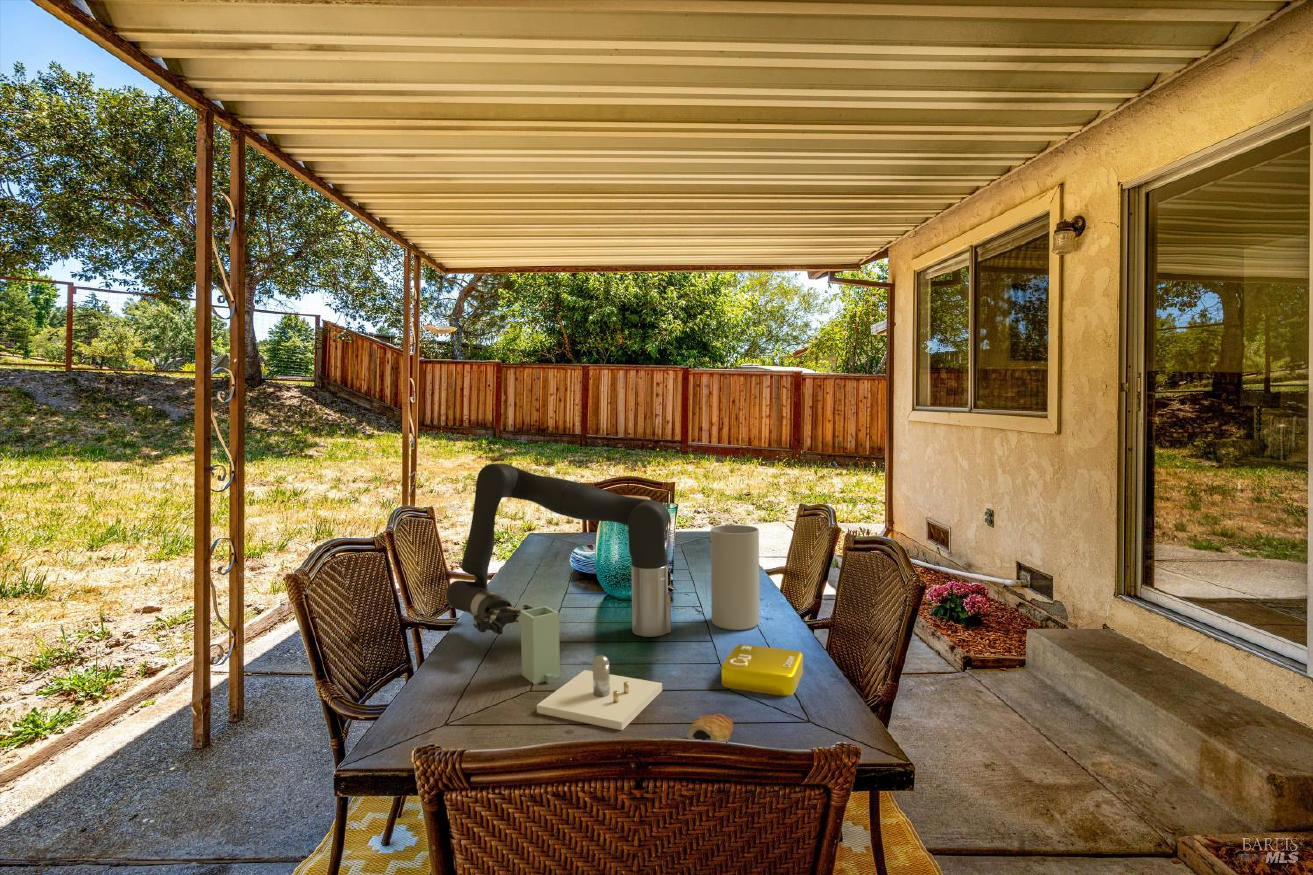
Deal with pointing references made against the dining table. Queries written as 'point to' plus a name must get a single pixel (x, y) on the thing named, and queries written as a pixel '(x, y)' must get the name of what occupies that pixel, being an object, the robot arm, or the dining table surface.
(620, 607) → the dining table surface
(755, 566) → the cylinder vase
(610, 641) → the dining table surface
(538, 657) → the hollow square tube
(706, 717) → the pastry
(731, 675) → the element tile
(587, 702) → the base plate
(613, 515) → the robot arm
